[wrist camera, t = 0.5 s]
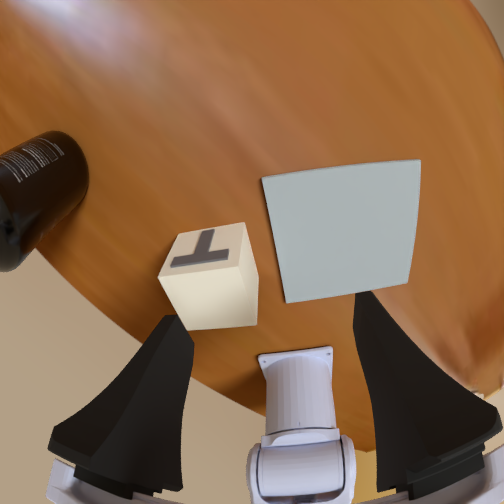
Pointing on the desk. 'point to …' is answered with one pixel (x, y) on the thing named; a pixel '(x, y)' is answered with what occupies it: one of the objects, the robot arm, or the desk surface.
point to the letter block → (212, 278)
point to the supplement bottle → (37, 192)
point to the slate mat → (344, 227)
